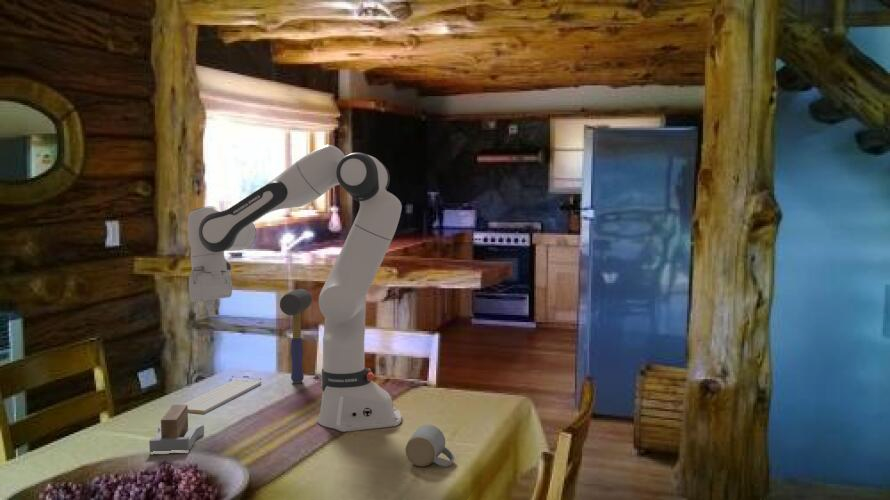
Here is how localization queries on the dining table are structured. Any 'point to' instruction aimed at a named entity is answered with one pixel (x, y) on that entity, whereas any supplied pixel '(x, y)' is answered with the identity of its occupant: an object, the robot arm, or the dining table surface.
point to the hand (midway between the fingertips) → (214, 316)
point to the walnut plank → (175, 422)
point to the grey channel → (176, 440)
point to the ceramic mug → (428, 447)
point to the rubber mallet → (296, 327)
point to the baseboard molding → (220, 395)
